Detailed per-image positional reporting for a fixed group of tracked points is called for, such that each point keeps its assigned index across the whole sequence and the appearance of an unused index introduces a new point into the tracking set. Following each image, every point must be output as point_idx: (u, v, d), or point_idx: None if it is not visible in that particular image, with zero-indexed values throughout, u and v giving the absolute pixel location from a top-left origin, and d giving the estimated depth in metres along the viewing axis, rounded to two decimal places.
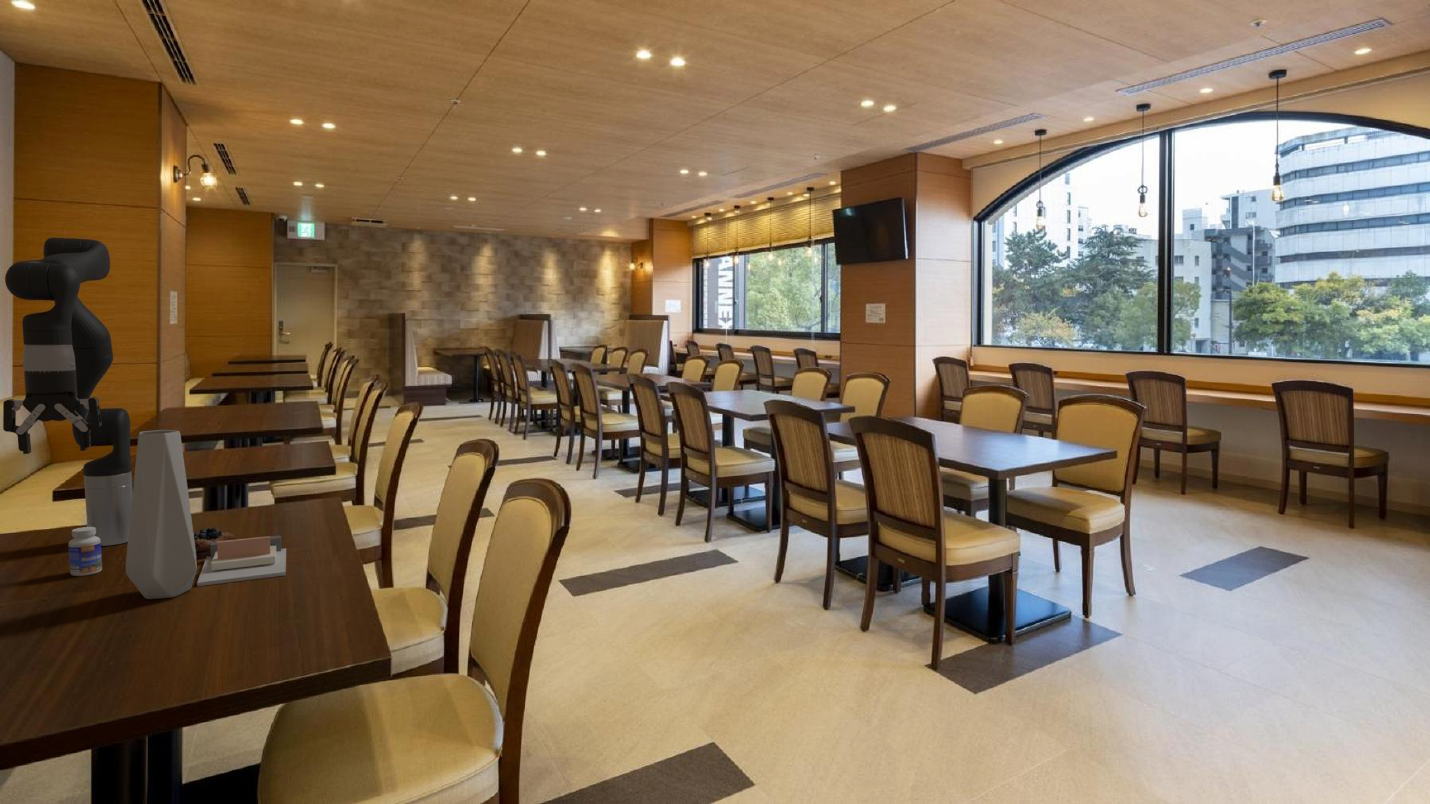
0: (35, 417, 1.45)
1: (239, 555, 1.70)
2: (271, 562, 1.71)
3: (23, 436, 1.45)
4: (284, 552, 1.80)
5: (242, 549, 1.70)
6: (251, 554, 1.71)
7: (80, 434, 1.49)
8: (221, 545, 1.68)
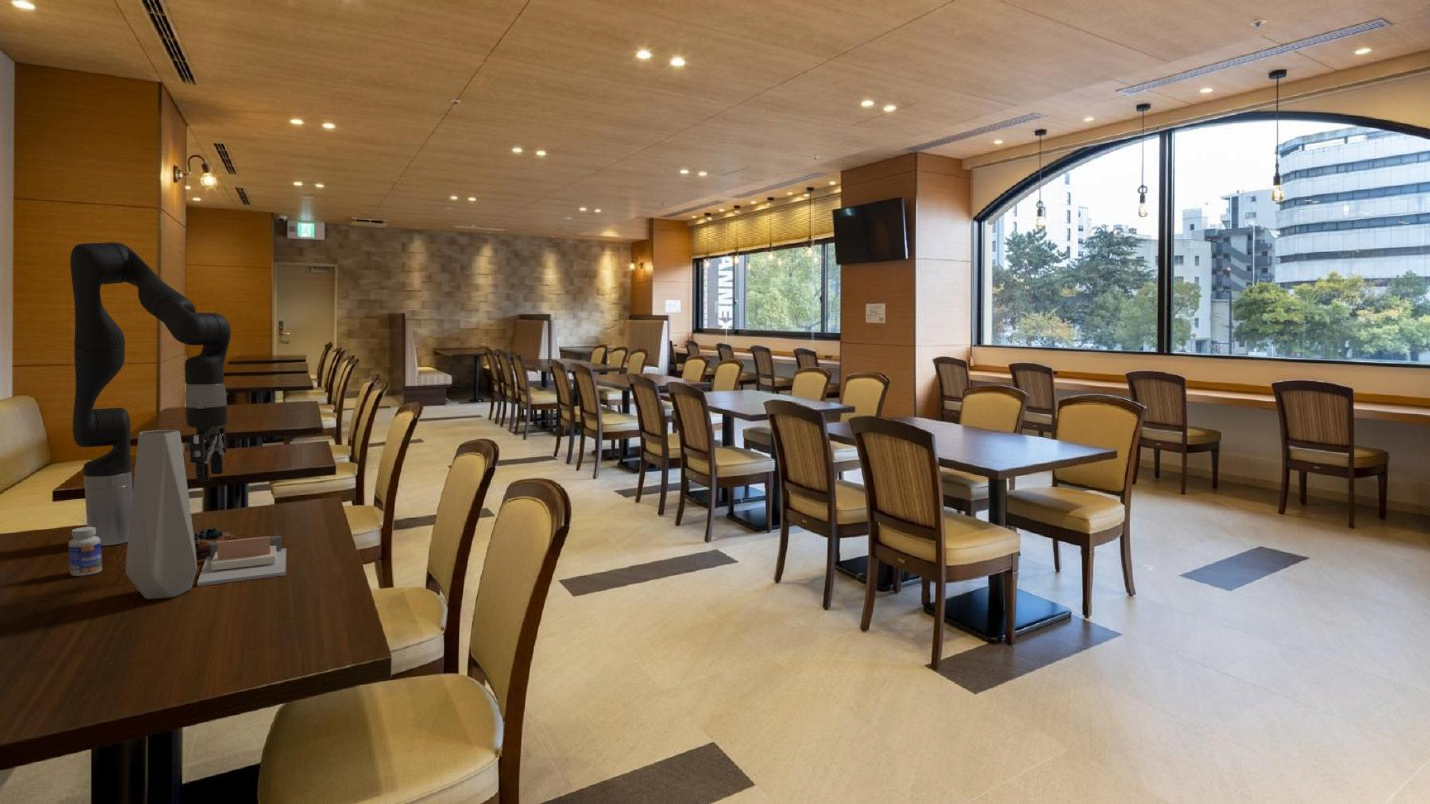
0: (213, 447, 1.66)
1: (239, 555, 1.70)
2: (271, 562, 1.71)
3: (207, 465, 1.64)
4: (284, 552, 1.80)
5: (242, 549, 1.70)
6: (251, 554, 1.71)
7: (221, 459, 1.72)
8: (221, 545, 1.68)
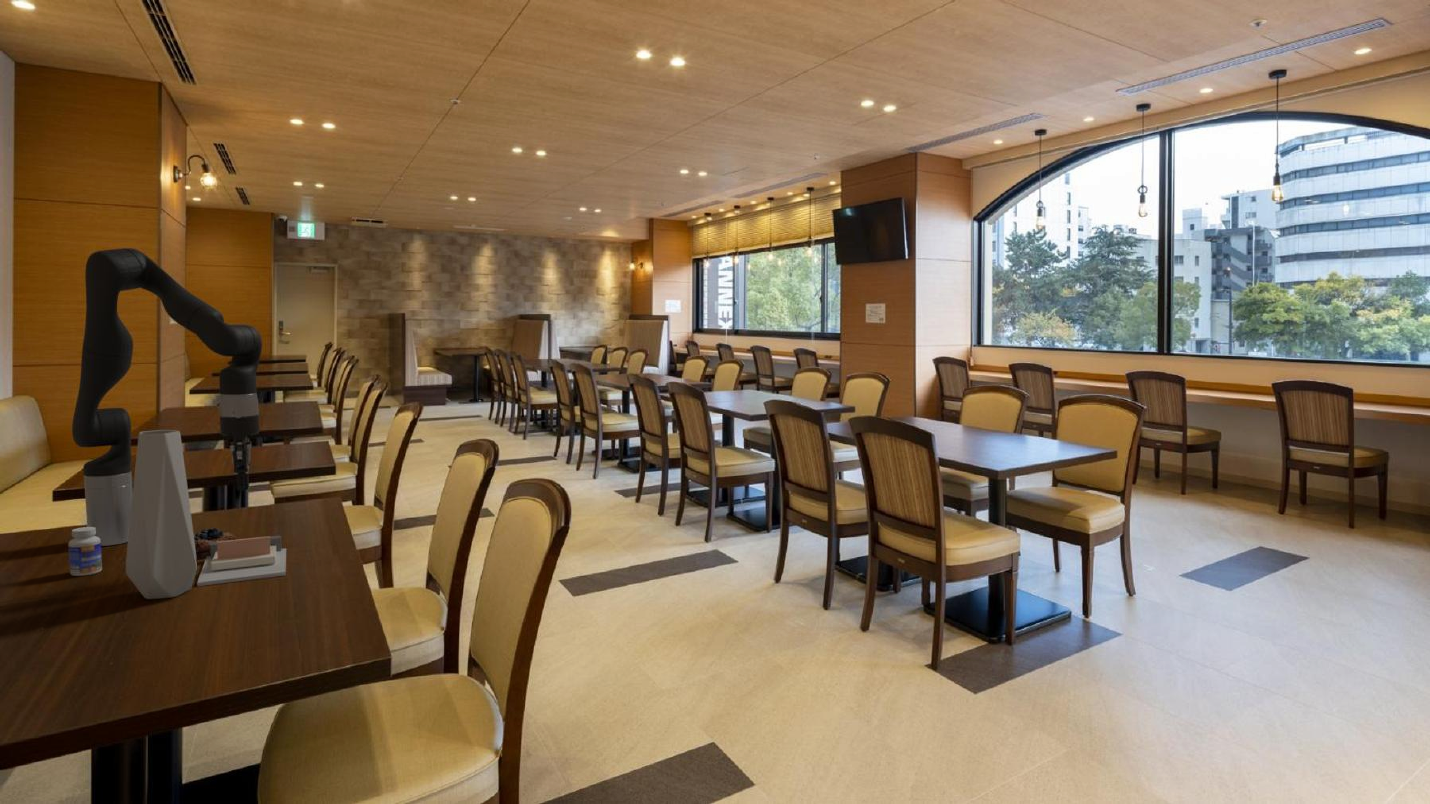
0: None
1: (239, 555, 1.70)
2: (271, 562, 1.71)
3: None
4: (284, 552, 1.80)
5: (242, 549, 1.70)
6: (251, 554, 1.71)
7: None
8: (221, 545, 1.68)
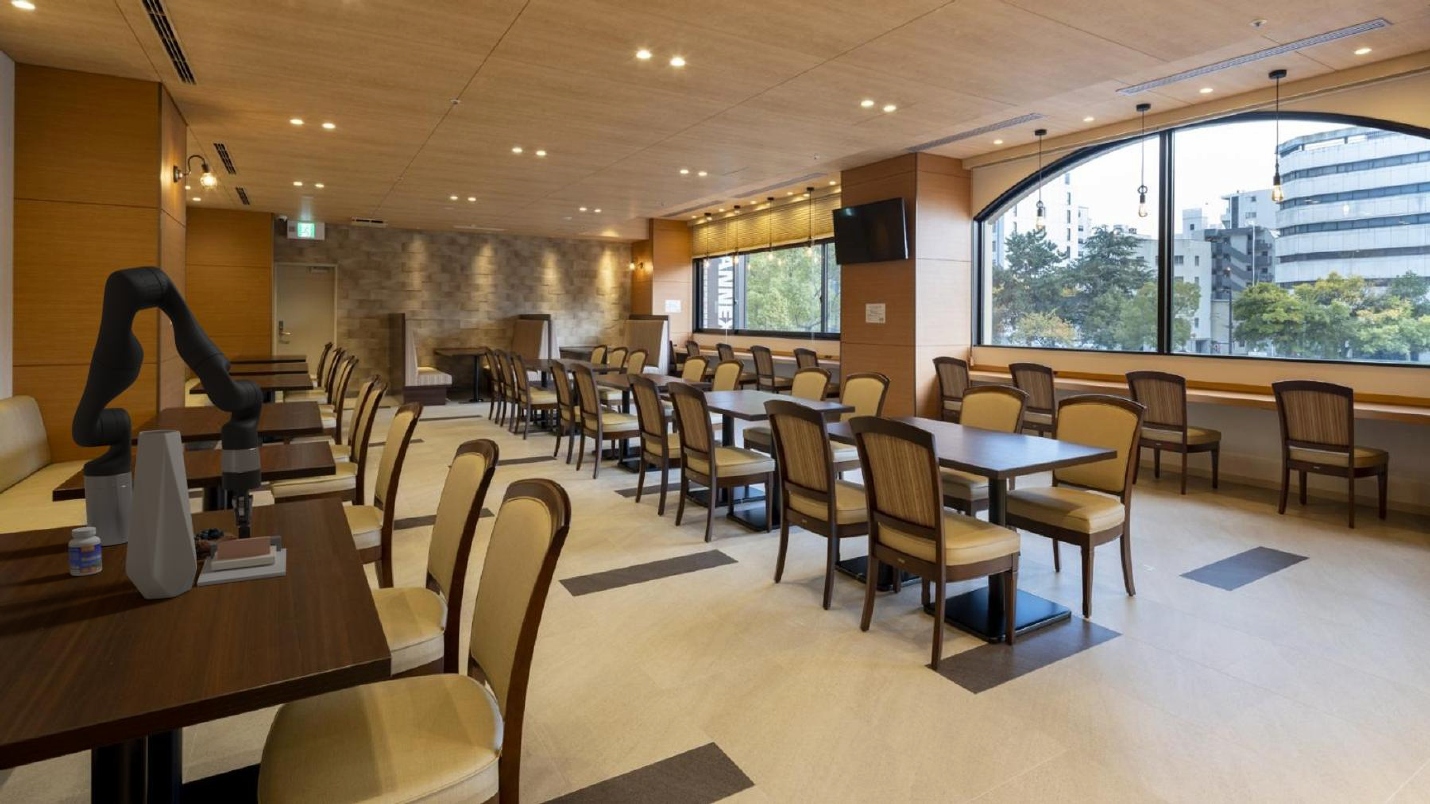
0: None
1: (239, 555, 1.70)
2: (271, 562, 1.71)
3: None
4: (284, 552, 1.80)
5: (242, 549, 1.70)
6: (251, 554, 1.71)
7: (249, 527, 1.75)
8: (221, 545, 1.68)
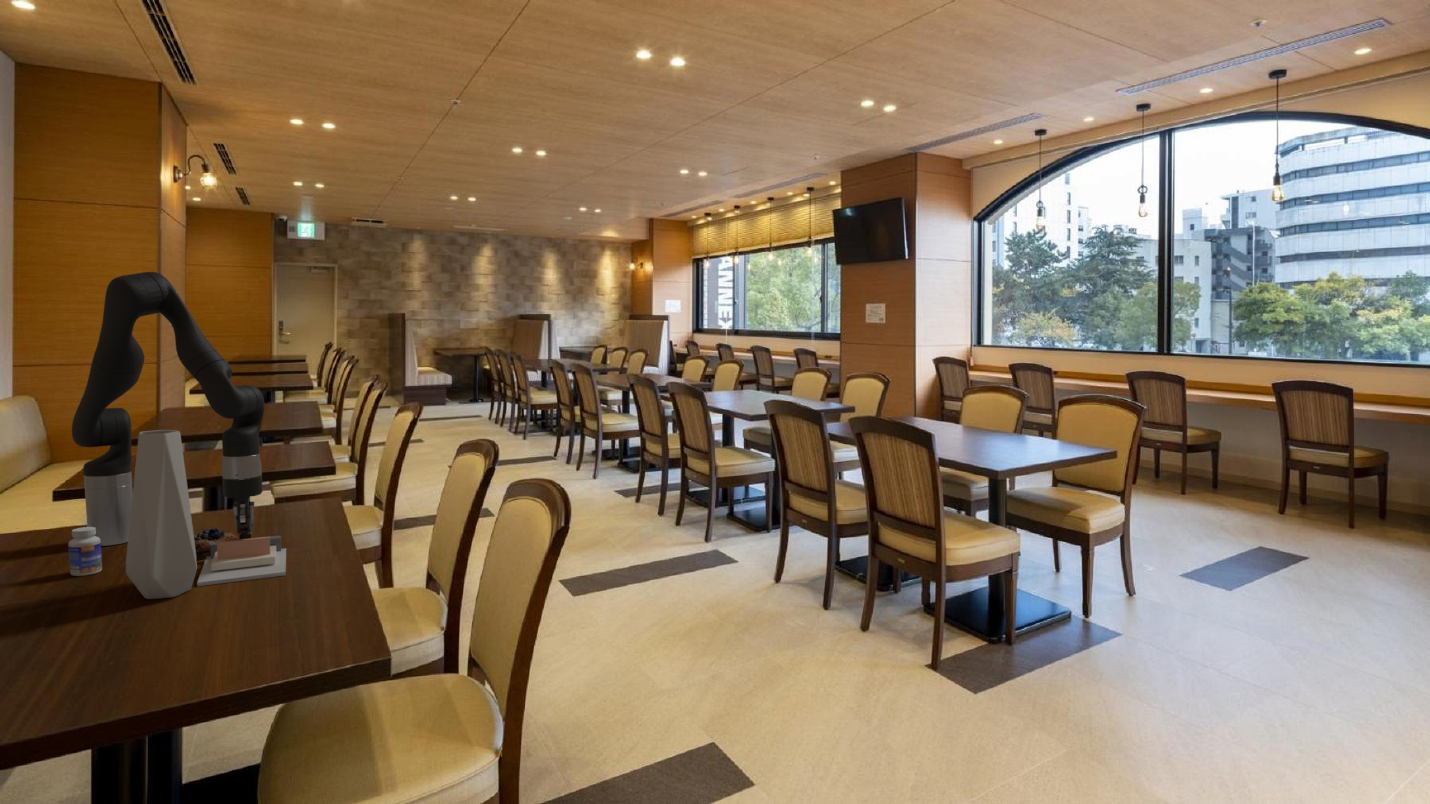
0: None
1: (239, 555, 1.70)
2: (271, 562, 1.70)
3: None
4: (284, 552, 1.80)
5: (242, 549, 1.70)
6: (251, 555, 1.71)
7: (250, 534, 1.74)
8: (221, 546, 1.68)
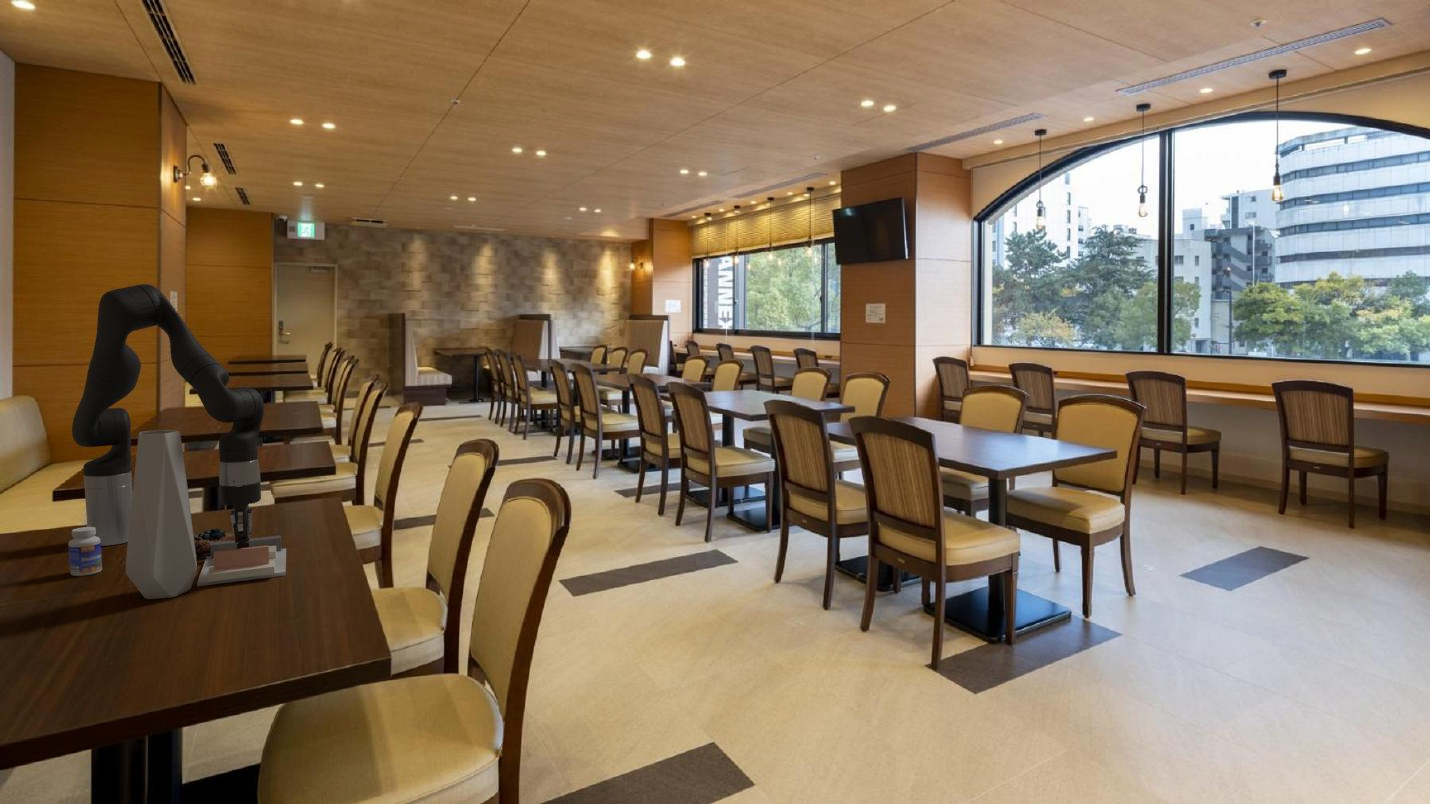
0: None
1: (237, 565, 1.63)
2: (270, 573, 1.64)
3: None
4: (284, 552, 1.80)
5: (239, 559, 1.63)
6: (249, 565, 1.64)
7: None
8: (218, 555, 1.61)
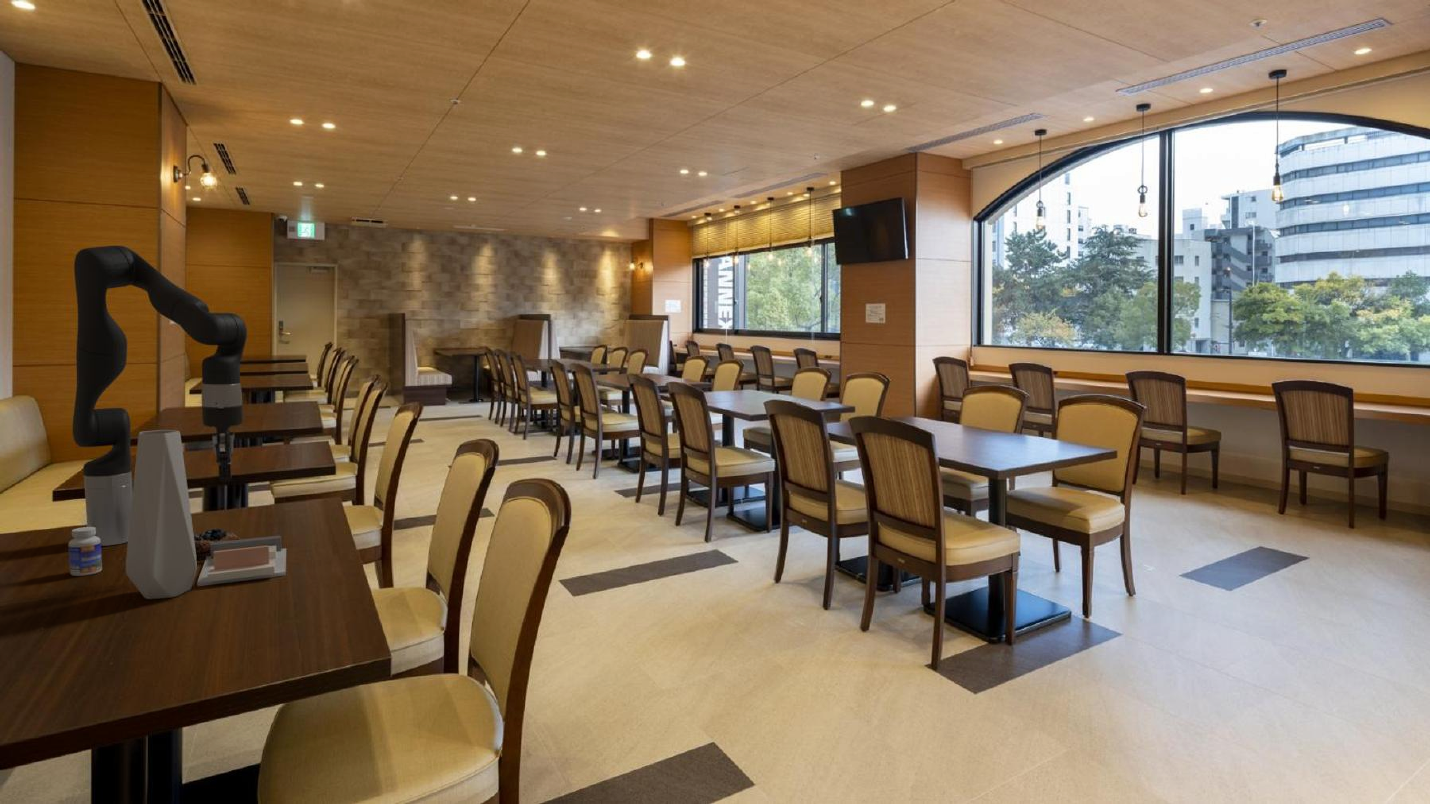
0: None
1: (237, 565, 1.63)
2: (270, 573, 1.64)
3: None
4: (284, 552, 1.80)
5: (239, 559, 1.63)
6: (249, 565, 1.64)
7: (230, 465, 1.71)
8: (218, 555, 1.61)
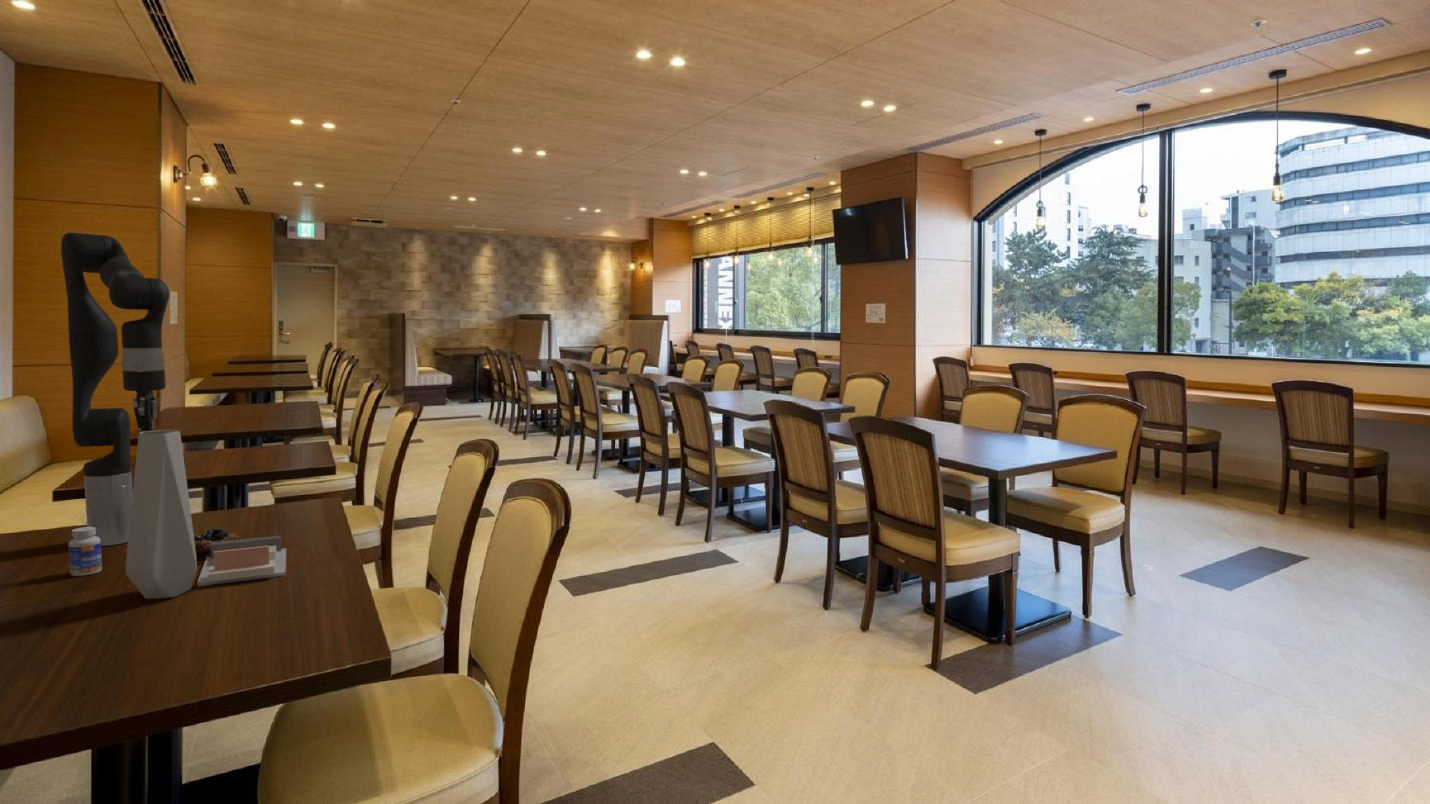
0: None
1: (237, 565, 1.63)
2: (270, 573, 1.64)
3: (153, 430, 1.70)
4: (284, 552, 1.80)
5: (239, 559, 1.63)
6: (249, 565, 1.64)
7: None
8: (218, 555, 1.61)
